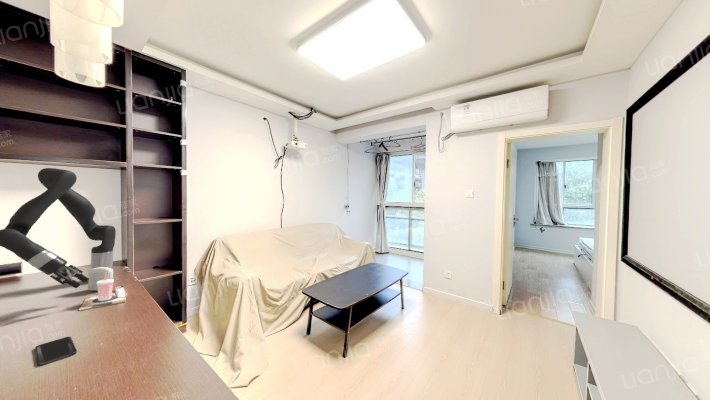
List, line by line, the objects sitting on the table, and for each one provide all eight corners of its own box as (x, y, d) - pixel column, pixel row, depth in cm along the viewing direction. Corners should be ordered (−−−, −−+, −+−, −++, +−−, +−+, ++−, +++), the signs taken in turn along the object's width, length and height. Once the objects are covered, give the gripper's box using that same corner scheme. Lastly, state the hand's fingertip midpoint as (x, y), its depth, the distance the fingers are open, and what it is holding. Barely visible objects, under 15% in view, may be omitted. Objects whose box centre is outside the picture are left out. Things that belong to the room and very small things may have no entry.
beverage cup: (102, 302, 116) (103, 273, 116) (92, 300, 117) (93, 272, 117) (117, 297, 122) (117, 269, 122) (107, 295, 123) (108, 268, 123)
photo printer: (114, 288, 135) (115, 266, 135) (107, 290, 131) (108, 268, 131) (93, 288, 133) (94, 266, 133) (86, 291, 129) (86, 268, 129)
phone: (38, 364, 73) (35, 346, 81) (38, 368, 73) (35, 349, 81) (77, 351, 79) (70, 335, 88) (77, 354, 79) (70, 338, 88)
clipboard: (87, 297, 121) (87, 295, 121) (127, 291, 131) (127, 288, 131) (78, 311, 108) (78, 308, 108) (124, 302, 117) (125, 300, 117)
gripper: (47, 259, 105) (84, 281, 110) (65, 252, 117) (97, 273, 123) (28, 273, 102) (67, 295, 108) (48, 264, 114) (82, 285, 120)
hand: (83, 283), depth 115 cm, fingers open, 8 cm apart
